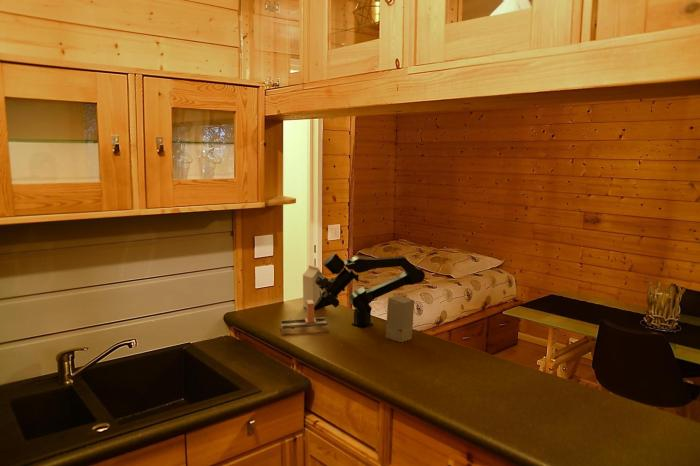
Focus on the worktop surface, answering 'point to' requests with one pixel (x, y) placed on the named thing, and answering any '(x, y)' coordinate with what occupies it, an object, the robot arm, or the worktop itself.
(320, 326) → the slider board
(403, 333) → the skincare box
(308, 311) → the fader tab
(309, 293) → the milk carton
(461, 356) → the worktop surface
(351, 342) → the worktop surface
